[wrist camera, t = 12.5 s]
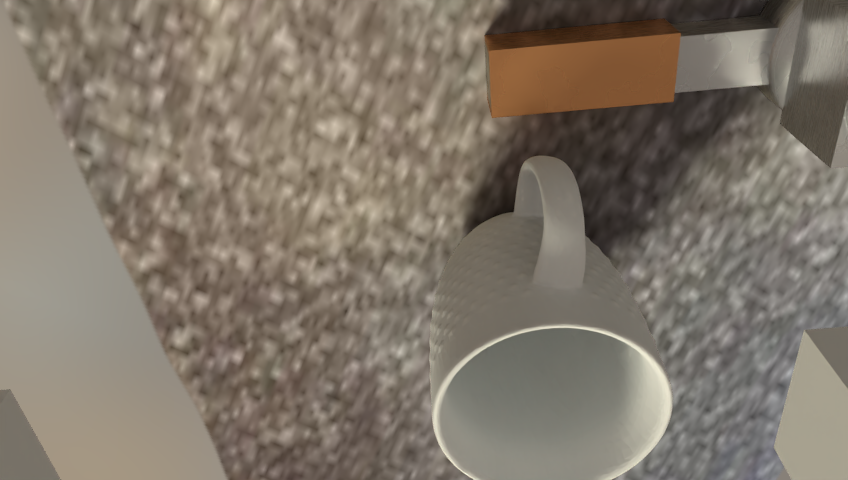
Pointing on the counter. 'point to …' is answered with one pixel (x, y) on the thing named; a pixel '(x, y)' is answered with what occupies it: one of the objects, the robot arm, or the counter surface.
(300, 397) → the counter surface
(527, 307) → the mug
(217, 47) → the counter surface
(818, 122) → the metal knob on block
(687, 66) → the ratchet
